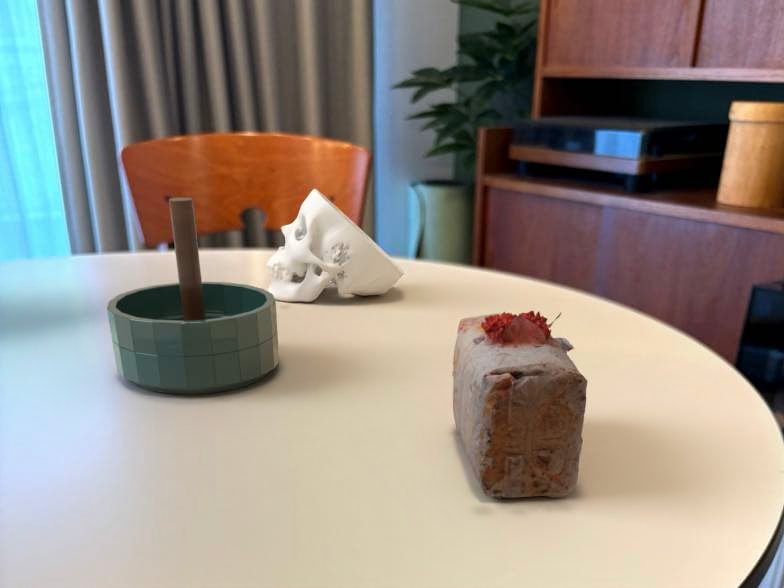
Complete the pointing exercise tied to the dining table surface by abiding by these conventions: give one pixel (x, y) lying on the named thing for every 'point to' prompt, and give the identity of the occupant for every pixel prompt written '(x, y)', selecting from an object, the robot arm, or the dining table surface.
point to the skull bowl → (328, 256)
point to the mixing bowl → (194, 338)
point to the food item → (518, 405)
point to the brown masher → (187, 258)
